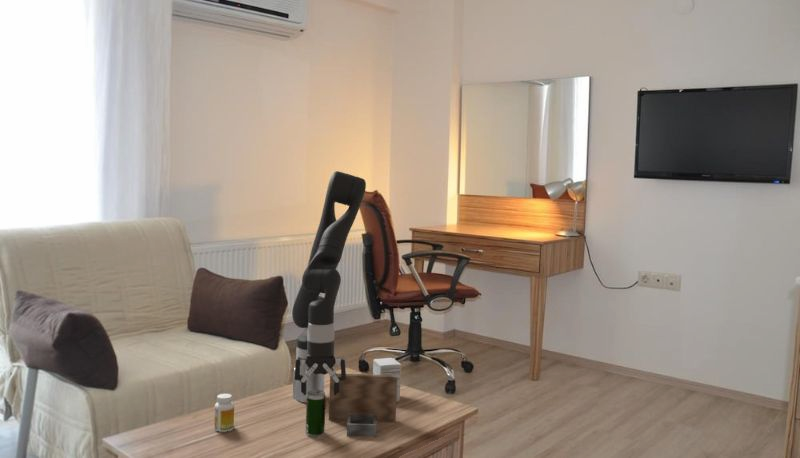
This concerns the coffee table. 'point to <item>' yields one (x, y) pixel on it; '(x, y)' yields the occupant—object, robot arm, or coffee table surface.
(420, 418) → the coffee table surface
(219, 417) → the supplement bottle
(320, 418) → the beer can
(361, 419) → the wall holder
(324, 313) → the robot arm
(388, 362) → the supplement box
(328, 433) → the coffee table surface
